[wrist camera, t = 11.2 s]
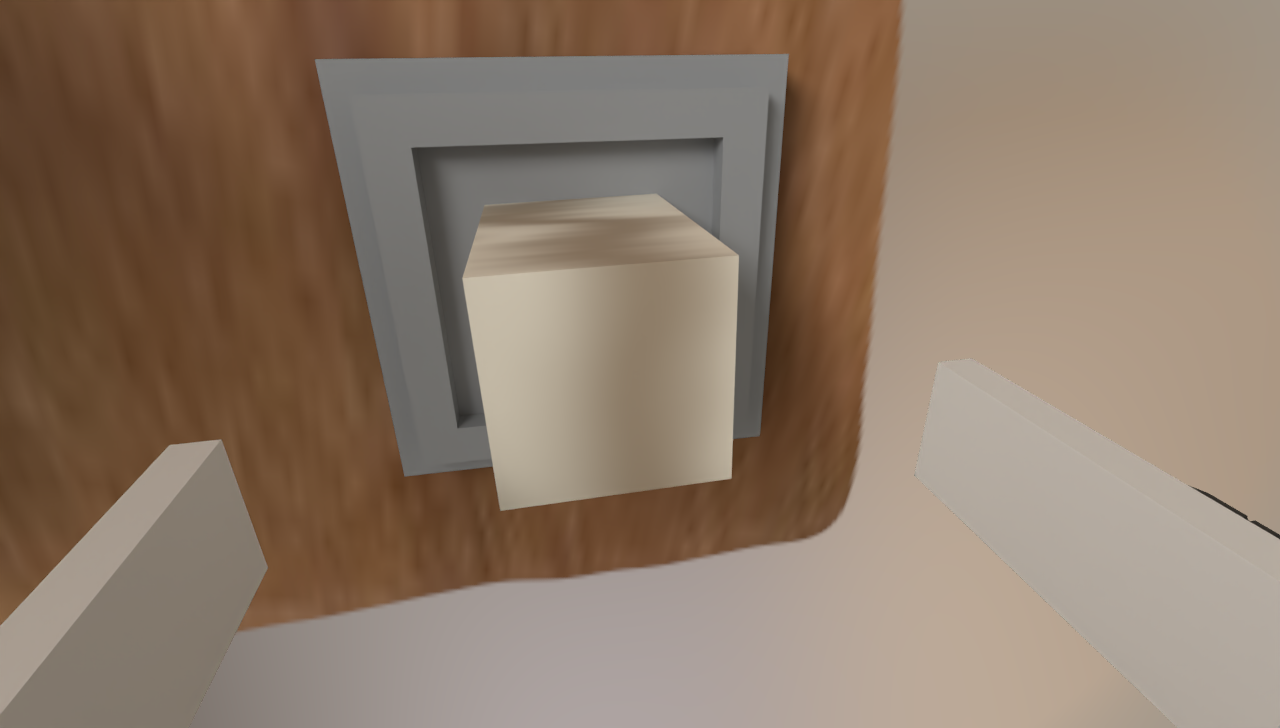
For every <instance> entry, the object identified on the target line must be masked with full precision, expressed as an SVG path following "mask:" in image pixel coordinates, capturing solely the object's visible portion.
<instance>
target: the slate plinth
mask: <svg viewBox="0 0 1280 728" xmlns="http://www.w3.org/2000/svg"><path fill="white" fill-rule="evenodd" d="M788 56H789V54H749V55H658V56H566V57H475V58H383V59H315V63H316V67H317V72H318V77H319V81H320V86H321V91H322V95H323V100H324V105H325V109H326V114H327V119H328V123H329V128H330V132H331V137H332V142H333V146H334V151H335V156H336V160H337V165H338V170H339V174H340V179H341V183H342V188H343V193H344V197H345V202H346V207H347V211H348V216H349V221H350V225H351V230H352V235H353V239H354V244H355V248H356V253H357V258H358V262H359V267H360V272H361V276H362V281H363V286H364V290H365V295H366V299H367V304H368V309H369V313H370V318H371V323H372V327H373V332H374V337H375V341H376V346H377V351H378V355H379V360H380V364H381V369H382V374H383V378H384V383H385V388H386V392H387V397H388V402H389V406H390V411H391V415H392V420H393V425H394V429H395V434H396V439H397V443H398V448H399V453H400V457H401V462H402V467H403V471H404V476H414V475H422V474H431V473H440V472H449V471H457V470H466V469H475V468H484V467H492V466H493V463H492V457H491V451H490V445H489V439H488V433H487V427H486V420H485V414H484V408H483V402H482V396H481V390H480V384H479V377H478V371H477V365H476V359H475V353H474V347H473V341H472V335H471V328H470V322H469V316H468V310H467V304H466V298H465V292H464V285H463V279H462V278H463V274H464V271H465V268H466V264H467V261H468V258H469V255H470V251H471V248H472V245H473V241H474V238H475V235H476V232H477V228H478V225H479V222H480V218H481V215H482V212H483V209H484V205H491V204H506V203H521V202H536V201H552V200H567V199H582V198H598V197H613V196H628V195H643V194H658V195H659V196H661V197H662V198H663V199H665V200H666V201H667V202H669V203H670V204H671V205H673V206H674V207H675V208H677V209H678V210H679V211H681V212H682V213H683V214H685V215H686V216H687V217H689V218H690V219H691V220H693V221H694V222H695V223H697V224H698V225H699V226H701V227H702V228H703V229H705V230H706V231H707V232H709V233H710V234H711V235H713V236H714V237H715V238H717V239H718V240H719V241H721V242H722V243H723V244H725V245H726V246H727V247H729V248H730V249H731V250H733V251H734V252H735V253H737V254H738V255H739V271H738V300H737V330H736V359H735V388H734V417H733V439H738V438H747V437H755V436H760V429H761V415H762V402H763V389H764V375H765V362H766V349H767V335H768V322H769V309H770V295H771V282H772V269H773V255H774V242H775V229H776V216H777V202H778V189H779V176H780V162H781V149H782V136H783V122H784V109H785V96H786V82H787V69H788Z"/></svg>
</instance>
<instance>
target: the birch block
mask: <svg viewBox="0 0 1280 728" xmlns="http://www.w3.org/2000/svg"><path fill="white" fill-rule="evenodd" d="M738 271H739V255H738V254H737V253H735V252H734V251H733V250H731V249H730V248H729V247H727V246H726V245H725V244H723V243H722V242H721V241H719V240H718V239H717V238H715V237H714V236H713V235H711V234H710V233H709V232H707V231H706V230H705V229H703V228H702V227H701V226H699V225H698V224H697V223H695V222H694V221H693V220H691V219H690V218H689V217H687V216H686V215H685V214H683V213H682V212H681V211H679V210H678V209H677V208H675V207H674V206H673V205H671V204H670V203H669V202H667V201H666V200H665V199H663V198H662V197H661V196H659V195H658V194H643V195H628V196H613V197H598V198H582V199H567V200H552V201H536V202H521V203H506V204H491V205H484V209H483V212H482V215H481V218H480V222H479V225H478V228H477V232H476V235H475V238H474V241H473V245H472V248H471V251H470V255H469V258H468V261H467V264H466V268H465V271H464V274H463V278H462V279H463V285H464V292H465V298H466V304H467V310H468V316H469V322H470V328H471V335H472V341H473V347H474V353H475V359H476V365H477V371H478V377H479V384H480V390H481V396H482V402H483V408H484V414H485V420H486V427H487V433H488V439H489V445H490V451H491V457H492V463H493V470H494V476H495V482H496V488H497V494H498V500H499V506H500V511H503V510H510V509H517V508H524V507H532V506H539V505H546V504H553V503H560V502H567V501H575V500H582V499H589V498H596V497H603V496H610V495H618V494H625V493H632V492H639V491H646V490H653V489H661V488H668V487H675V486H682V485H689V484H696V483H704V482H711V481H718V480H725V479H731V476H732V447H733V417H734V388H735V359H736V330H737V300H738Z"/></svg>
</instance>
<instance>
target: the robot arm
mask: <svg viewBox="0 0 1280 728" xmlns="http://www.w3.org/2000/svg"><path fill="white" fill-rule="evenodd" d="M914 476H915V477H916V478H917V479H919V480H920V481H921V482H922V483H923V484H924V485H925V486H926V487H927V488H928V489H929V490H930V491H931V492H932V493H933V494H934V495H935V496H936V497H937V498H938V499H939V500H940V501H942V503H944V504H945V505H946V506H947V507H948V508H949V509H950V510H951V511H952V512H953V513H954V514H955V515H956V516H957V517H958V518H959V519H960V520H961V521H962V522H963V523H964V524H965V525H967V527H969V528H970V529H971V530H972V531H973V532H974V533H975V534H976V535H977V536H978V537H979V538H980V539H981V540H982V541H983V542H984V543H985V544H986V545H987V546H988V547H989V548H990V549H991V550H993V551H994V552H995V553H996V554H997V555H998V556H999V557H1000V558H1001V559H1002V560H1003V561H1004V562H1005V563H1006V564H1007V565H1008V566H1009V567H1010V568H1011V569H1012V570H1013V571H1014V572H1016V574H1018V575H1019V576H1020V577H1021V578H1022V579H1023V580H1024V581H1025V582H1026V583H1027V584H1028V585H1029V586H1030V587H1031V588H1032V589H1033V590H1034V591H1035V592H1036V593H1037V594H1038V595H1040V597H1042V598H1043V599H1044V600H1045V601H1046V602H1047V603H1048V604H1049V605H1050V606H1051V607H1052V608H1053V609H1054V610H1055V611H1056V612H1057V613H1058V614H1059V615H1060V616H1061V617H1062V618H1063V619H1064V620H1066V621H1067V622H1068V623H1069V624H1070V625H1071V626H1072V627H1073V628H1074V629H1075V630H1076V631H1077V632H1078V633H1079V634H1080V635H1081V636H1082V637H1083V638H1084V639H1085V640H1087V642H1088V643H1089V644H1091V645H1092V646H1093V647H1094V648H1095V649H1096V650H1097V651H1098V652H1099V653H1100V654H1101V655H1102V656H1103V657H1105V659H1106V660H1107V661H1108V662H1109V663H1110V664H1111V665H1113V667H1115V668H1116V669H1117V670H1118V671H1119V672H1120V673H1121V674H1122V675H1123V676H1124V677H1125V678H1126V679H1127V680H1128V681H1129V682H1130V683H1131V684H1132V685H1133V686H1134V687H1135V688H1137V689H1138V690H1139V691H1140V692H1141V693H1142V694H1143V695H1144V696H1145V697H1146V698H1147V699H1148V700H1149V701H1150V702H1151V703H1152V704H1153V705H1154V706H1155V707H1156V708H1157V709H1158V710H1159V711H1160V712H1161V713H1162V714H1164V715H1165V716H1166V717H1167V718H1168V719H1169V720H1170V721H1171V722H1172V723H1173V724H1174V725H1175V726H1176V727H1177V728H1280V535H1279V534H1277V533H1276V532H1274V531H1272V530H1270V529H1269V528H1267V527H1265V526H1264V525H1262V524H1260V523H1258V522H1257V521H1249V520H1248V518H1247V516H1246V515H1245V514H1243V513H1241V512H1240V511H1238V510H1236V509H1234V508H1232V507H1231V506H1229V505H1228V504H1226V503H1224V502H1222V501H1221V500H1219V499H1217V498H1216V497H1214V496H1212V495H1210V494H1208V493H1206V492H1204V491H1201V490H1199V489H1196V488H1194V487H1191V486H1189V485H1187V484H1185V483H1183V482H1181V481H1180V480H1178V479H1176V478H1174V477H1173V476H1171V475H1169V474H1168V473H1166V472H1164V471H1163V470H1161V469H1159V468H1158V467H1156V466H1154V465H1153V464H1151V463H1149V462H1147V461H1146V460H1144V459H1142V458H1141V457H1139V456H1137V455H1135V454H1134V453H1132V452H1130V451H1129V450H1127V449H1125V448H1124V447H1122V446H1120V445H1119V444H1117V443H1115V442H1113V441H1112V440H1110V439H1108V438H1107V437H1105V436H1103V435H1102V434H1100V433H1098V432H1096V431H1095V430H1093V429H1091V428H1090V427H1088V426H1086V425H1085V424H1083V423H1081V422H1079V421H1078V420H1076V419H1074V418H1072V417H1071V416H1069V415H1068V414H1066V413H1064V412H1062V411H1061V410H1059V409H1057V408H1056V407H1054V406H1052V405H1051V404H1049V403H1047V402H1045V401H1044V400H1042V399H1040V398H1039V397H1037V396H1035V395H1033V394H1032V393H1030V392H1028V391H1027V390H1025V389H1023V388H1022V387H1020V386H1018V385H1016V384H1015V383H1013V382H1011V381H1009V380H1008V379H1006V378H1005V377H1003V376H1001V375H999V374H998V373H996V372H994V371H993V370H991V369H989V368H988V367H986V366H984V365H983V364H981V363H979V362H977V361H976V360H974V359H971V358H970V359H961V360H952V361H943V362H938V366H937V370H936V375H935V380H934V385H933V389H932V394H931V399H930V404H929V408H928V413H927V418H926V423H925V427H924V432H923V436H922V442H921V446H920V451H919V455H918V460H917V465H916V469H915V474H914ZM267 569H268V567H267V564H266V561H265V558H264V555H263V553H262V550H261V547H260V544H259V542H258V539H257V536H256V533H255V531H254V528H253V525H252V522H251V520H250V517H249V514H248V511H247V509H246V506H245V503H244V500H243V497H242V495H241V492H240V489H239V486H238V484H237V481H236V478H235V475H234V473H233V470H232V467H231V464H230V462H229V459H228V456H227V453H226V451H225V448H224V445H223V442H222V439H221V440H211V441H202V442H193V443H184V444H174V445H169V446H168V447H167V448H166V449H165V450H164V451H163V452H162V454H161V455H160V456H159V457H158V458H157V459H156V460H155V461H154V462H153V463H152V464H151V465H150V466H149V467H148V468H147V470H146V471H145V472H144V473H143V474H142V475H141V476H140V477H139V478H138V479H137V480H136V481H135V482H134V483H133V485H132V486H131V487H130V488H129V489H128V490H127V491H126V492H125V493H124V494H123V495H122V496H121V497H120V498H119V499H118V501H117V502H116V503H115V504H114V505H113V506H112V507H111V508H110V509H109V510H108V511H107V512H106V513H105V514H104V516H103V517H102V518H101V519H100V520H99V521H98V522H97V523H96V524H95V525H94V526H93V527H92V528H91V529H90V530H89V532H88V533H87V534H86V535H85V536H84V537H83V538H82V539H81V540H80V541H79V542H78V543H77V544H76V545H75V547H74V548H73V549H72V550H71V551H70V552H69V553H68V554H67V555H66V556H65V557H64V558H63V559H62V560H61V561H60V563H59V564H58V565H57V566H56V567H55V568H54V569H53V570H52V571H51V572H50V573H49V574H48V575H47V576H46V578H45V579H44V580H43V581H42V582H41V583H40V584H39V585H38V586H37V587H36V588H35V589H34V590H33V591H32V592H31V594H30V595H29V596H28V597H27V598H26V599H25V600H24V601H23V602H22V603H21V604H20V605H19V606H18V607H17V608H16V610H15V611H14V612H13V613H12V614H11V615H10V616H9V617H8V618H7V619H6V620H5V621H4V622H3V623H2V625H1V626H0V728H189V726H190V724H191V722H192V720H193V718H194V716H195V714H196V712H197V710H198V708H199V706H200V704H201V702H202V700H203V698H204V696H205V694H206V692H207V690H208V688H209V686H210V684H211V682H212V680H213V678H214V676H215V674H216V672H217V670H218V668H219V666H220V663H221V662H222V660H223V658H224V656H225V653H226V651H227V650H228V648H229V645H230V644H231V641H232V639H233V637H234V635H235V633H236V631H237V629H238V627H239V625H240V623H241V621H242V619H243V617H244V615H245V613H246V611H247V609H248V607H249V605H250V603H251V601H252V599H253V597H254V595H255V593H256V591H257V589H258V587H259V585H260V583H261V581H262V579H263V577H264V575H265V573H266V571H267Z"/></svg>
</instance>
